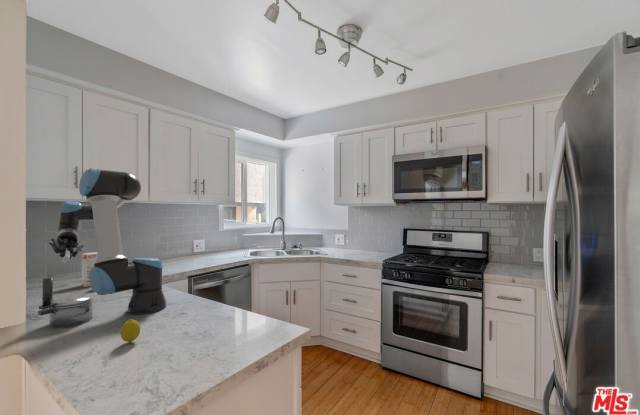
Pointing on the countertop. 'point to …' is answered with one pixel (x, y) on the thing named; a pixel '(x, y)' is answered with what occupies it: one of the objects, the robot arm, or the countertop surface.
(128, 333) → the lemon
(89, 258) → the coffeecake box
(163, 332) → the countertop surface
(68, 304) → the lid
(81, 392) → the countertop surface
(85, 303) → the pot
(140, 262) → the robot arm
